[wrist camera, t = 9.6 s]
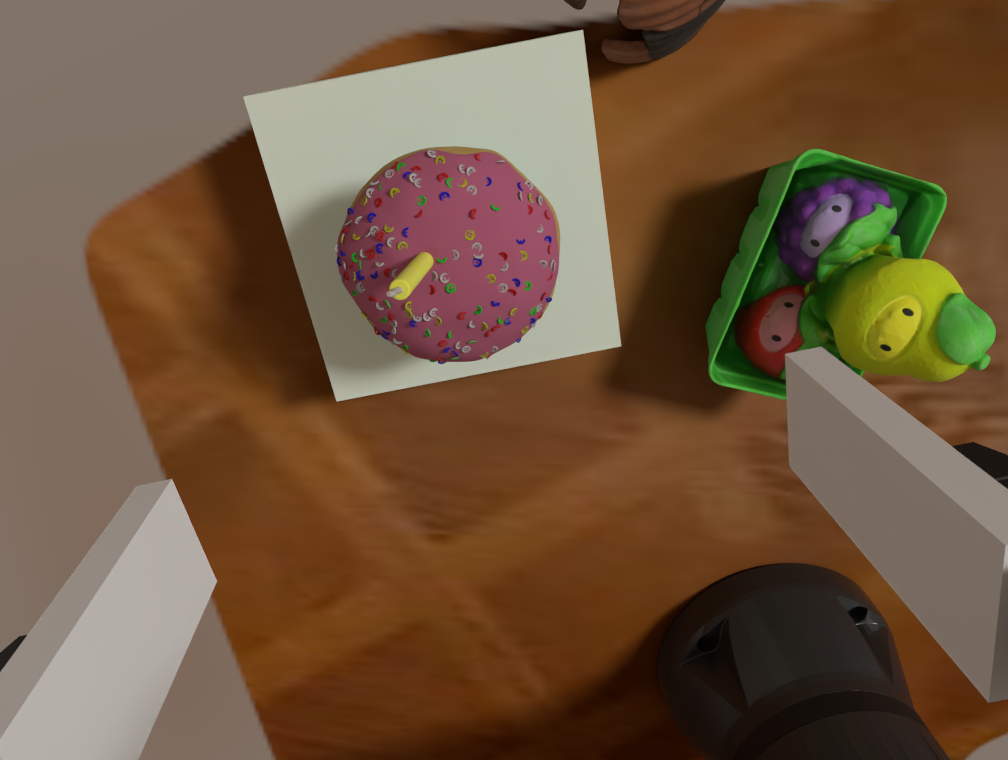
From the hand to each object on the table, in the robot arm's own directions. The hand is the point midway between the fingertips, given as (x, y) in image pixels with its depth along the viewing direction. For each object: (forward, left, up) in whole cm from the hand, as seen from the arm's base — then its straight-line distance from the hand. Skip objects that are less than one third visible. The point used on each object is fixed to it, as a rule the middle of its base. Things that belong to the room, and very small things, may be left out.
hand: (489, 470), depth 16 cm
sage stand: (+1, +1, -23) cm, 23 cm away
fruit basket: (-5, -16, -23) cm, 29 cm away
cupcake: (+1, +1, -19) cm, 19 cm away
